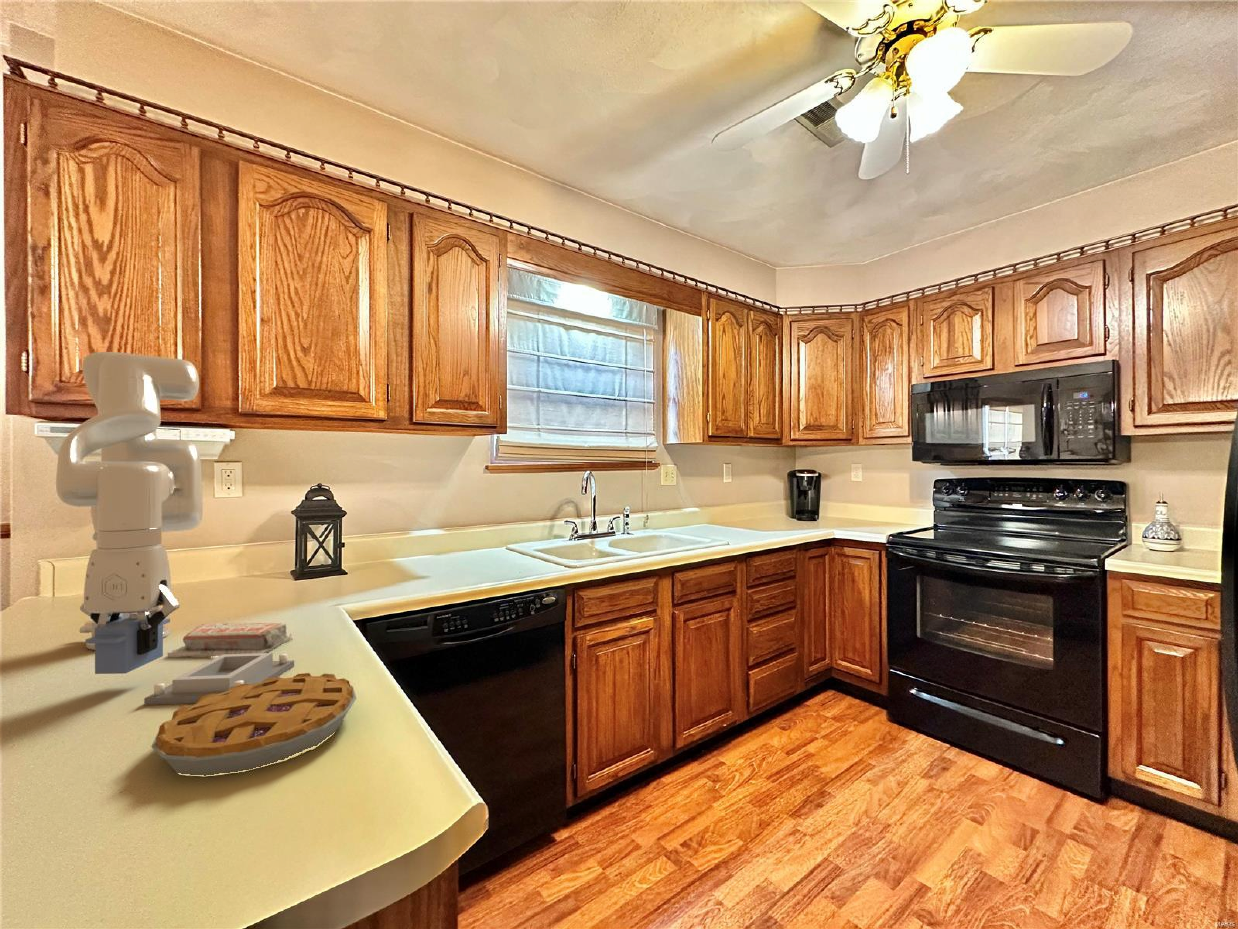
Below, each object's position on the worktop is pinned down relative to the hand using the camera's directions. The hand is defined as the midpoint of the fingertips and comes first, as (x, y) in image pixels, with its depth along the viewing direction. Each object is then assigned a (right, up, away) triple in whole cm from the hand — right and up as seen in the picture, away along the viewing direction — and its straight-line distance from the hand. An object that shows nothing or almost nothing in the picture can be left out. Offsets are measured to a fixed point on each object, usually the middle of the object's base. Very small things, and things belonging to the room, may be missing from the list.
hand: (130, 650), depth 83 cm
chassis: (+14, -6, +1) cm, 16 cm away
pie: (+32, -6, -15) cm, 36 cm away
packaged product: (+3, -7, +19) cm, 20 cm away
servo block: (0, -2, 0) cm, 2 cm away
